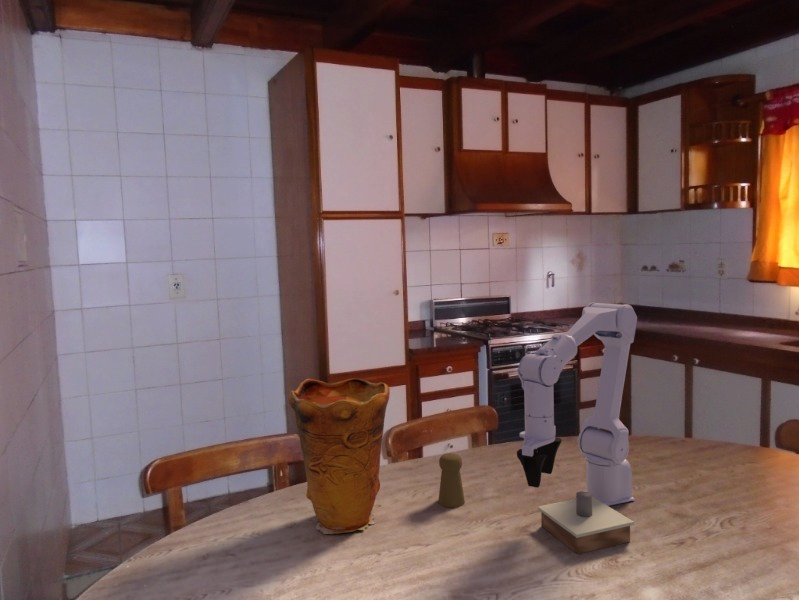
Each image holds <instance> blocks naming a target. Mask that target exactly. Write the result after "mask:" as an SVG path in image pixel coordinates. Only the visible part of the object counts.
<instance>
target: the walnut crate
mask: <svg viewBox="0 0 799 600" xmlns="http://www.w3.org/2000/svg"><path fill="white" fill-rule="evenodd" d="M540 514H541V519H540V520H541V528H543V529H545V530H546V531H547V532H549V534H551V535H552V536H553V537H555V538H556V539H557V540H558V541H560V542H561V543H563V544H564V545H565V546H567V547H568V548H569V549H570V550H572V551H573V552H574V553H575V554H577V555H579V554H580V555H581V554H584V553H588V552H592V551H596V550H600V549H605V548H609V547H613V546H617V545H621V544H626V543H630V542H631V526H627V527H622V528H618V529H613V530H609V531H605V532H600V533H596V534H592V535H587V536H583V537H578V538H576V537H575V536H574V535H572V534H571V533H570V532H568V531H567V530H565V529H564V528H563V527H561V526H560V525H559V524H557V523H556V522H555V521H553V520H552V519H550V518H549V517H548V516H546V515H545V514H544V513H542V512H541V511H540Z"/></svg>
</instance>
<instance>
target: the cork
mask: <svg viewBox="0 0 799 600" xmlns="http://www.w3.org/2000/svg"><path fill="white" fill-rule="evenodd" d="M438 464H439V468H440V469H441V475H440V481H439V482H440V483H439V484H440V485H439V491H438V504H439V505H440V506H442V507H444V508H449V509H451V508H452V507H453V508H452V509H455V507H456V508H459V506H460V507H463V506H464V505H465V504H466V503H465V502H466V501H465V494H464V487H463V481H462V475H461V468H462V466H463V460H462V457H461V455H459V454H458V453H455V452H453V453H452V452H447V453H443V454H442V455H440V457H439V460H438Z"/></svg>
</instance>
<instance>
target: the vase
mask: <svg viewBox="0 0 799 600" xmlns="http://www.w3.org/2000/svg"><path fill="white" fill-rule="evenodd" d="M390 389H391V388H390V386H389V385H388V384H386V383H385V382H378V383H375V382H374V383H373V382H370V381H368V380H367V379H364V378H363V379H362V378H354V377H353V378H352V377H351V378H348V379H345V380H341V381H338V382H334V383H331V382H325V381H322V380H317V379H314V378H307V379H305V380H303V381H301V382H300V384H299V385H298V387H297V388H296V389H295V390H293V389H291V390H290V391H289V394H288V402H289V403H288V404H289V405H290V407H291V408H292V410H293V411H294V418H295V423H296V427H297V428H296V429H297V434H298V438H299V441H300V447H301V448H300V449H301V450H302V458H303V459H302V460H303V464H304V470H305V475H306V483H307V489H306V498H307V499H308V500H310V502H311V504H312V508H313V511H314V514H315V516H316V519H315V521H317V522H318V523H316V527H315V529H316V530H317V531H320V533H321V532H322V534H323V535H328V534H329V535H333V534H341V533H343V534H344V533H352V532H355V531H357V530H358V531H364V530H365V529H366V528H369V525H374V524H376V522H375V521H374V518H375V517H376V516H375V515H373V514H372V511H373V508H374V505H375V500H376V498H377V495H378V493H379V491H380V489H381V481H380V477H379V475H380V467H381V465H380V464H381V454H382V444H383V443H382V442H383V436H384V430H385V429H384V427H385V419H386V410H387V407H388V404H389V399H390V393H391V392H390V391H391V390H390Z"/></svg>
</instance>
